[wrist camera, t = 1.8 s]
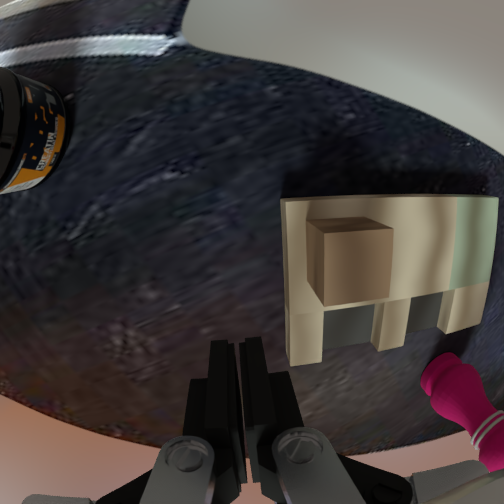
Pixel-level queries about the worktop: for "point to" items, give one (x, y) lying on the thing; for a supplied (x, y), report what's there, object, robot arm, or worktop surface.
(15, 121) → the supplement container
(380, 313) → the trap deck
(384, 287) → the walnut block
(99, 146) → the worktop surface
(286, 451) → the robot arm
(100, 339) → the worktop surface
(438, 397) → the pepper mill
